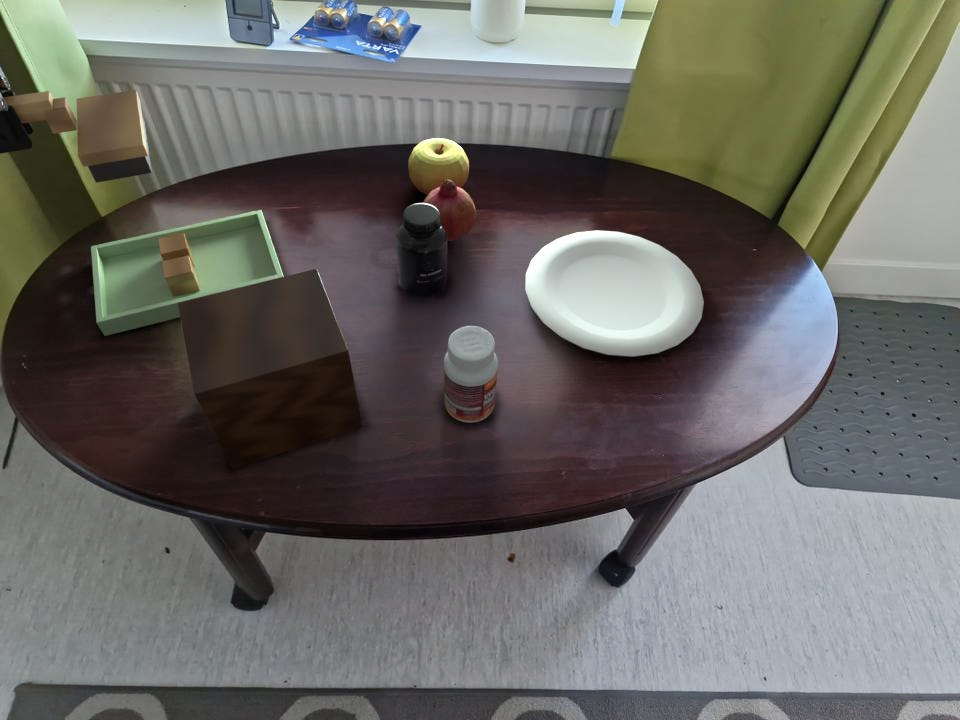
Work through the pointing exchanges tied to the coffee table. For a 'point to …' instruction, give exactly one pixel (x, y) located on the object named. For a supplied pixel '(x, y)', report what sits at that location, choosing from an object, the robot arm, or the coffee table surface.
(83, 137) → the brush
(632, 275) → the plate
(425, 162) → the apple
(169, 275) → the cork block
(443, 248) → the supplement bottle
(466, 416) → the pill bottle
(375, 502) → the coffee table surface
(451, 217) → the fruit
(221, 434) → the stand
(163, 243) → the brown cube
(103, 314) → the tray
